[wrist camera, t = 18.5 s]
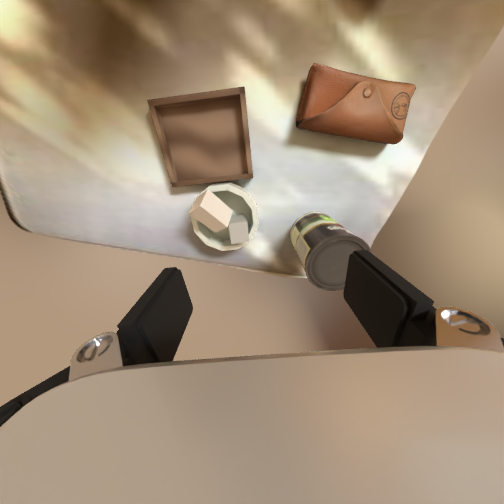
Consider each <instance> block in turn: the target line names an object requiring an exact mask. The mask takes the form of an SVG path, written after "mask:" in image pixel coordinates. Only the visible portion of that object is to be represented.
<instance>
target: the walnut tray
mask: <svg viewBox="0 0 504 504" xmlns="http://www.w3.org/2000/svg"><path fill="white" fill-rule="evenodd" d="M147 101H148V104H149V108H150V111H151V115H152V118H153V122H154V125H155V129H156V132H157V136H158V139H159V142H160V146H161V149H162V153H163V156H164V160H165V163H166V167H167V170H168V174H169V177H170V181H171V184H172V187H178V186H186V185H195V184H204V183H213V182H221V181H230V180H239V179H248V178H253V171H252V161H251V150H250V140H249V129H248V119H247V108H246V98H245V88H244V87H238V88H231V89H224V90H216V91H209V92H202V93H195V94H188V95H181V96H173V97H166V98H159V99H152V100H147Z"/></svg>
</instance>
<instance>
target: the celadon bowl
mask: <svg viewBox="0 0 504 504" xmlns="http://www.w3.org/2000/svg"><path fill="white" fill-rule="evenodd" d="M207 189H209V190H210V191H211V192H212V193H213V194H214V195H215V196H217V197H218V198H219V199H220V200H221V201H222V202H223V203H225V204H226V205H227V206H228V207H229V208H230V209H231V210H233V212H232V215H237V214H243V215H244V216H245V218H246V220H247V223H248V233H249V242H250V241H251V240H252V238H253V236H254V234H255V232H256V230H257V228H258V226H259V224H258V213H257V204H256V202H255V201H254V199H253V198H252V196H251V195H250V194H249V192H248V191H247V190H246V189H244V188H243V187H241V186H239V185H236V184H233V183H231V182H227V183H218V184H212V185H210V186H209V187H207V188H206V189H205V190H204V191H206V190H207ZM204 191H203V192H204ZM203 192H202V193H203ZM202 193H200V194H202ZM200 194H199V195H200ZM199 195H198V196H199ZM198 196H197V197H198ZM197 197H196V198H197ZM196 198H195V199H194V202H195V200H196ZM193 204H194V203H193ZM190 217H191V221H192V225H193V229H194V232H195V233H196V234H197V235H198V236H199V238H200V239H201V240H202V241H203V242H204V243H205V244H206V245H208V246H211V247H213V248H216V249H218V250H221V251H226V250H236V249H239V248H241V247H242V246H244V245H245V244H247V243H248V242H243V243H236V244H231V240H230V235H229V229H228V227H227V228H225V229H223V230H220V231H218V232H216V233H215V232H213V231H212V230H211V229H209V228H208V227H206V226H205V225H204V224H202V223H201V222H199V221H198V220H197V219H195V218H194V217H192V216H191V215H190Z"/></svg>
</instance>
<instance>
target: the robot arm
mask: <svg viewBox="0 0 504 504" xmlns="http://www.w3.org/2000/svg"><path fill="white" fill-rule="evenodd" d="M344 298H345V300H346V302H347V303H348V305H349V306H350V308H351V309H352V311H353V312H354V314H355V315H356V317H357V318H358V320H359V321H360V323H361V324H362V326H363V327H364V329H365V330H366V332H367V333H368V335H369V336H370V338H371V339H372V341H373V342H374V343H375V345H376V346H377V348H366V349H349V350H333V351H317V352H300V353H285V354H270V355H255V356H240V357H227V358H226V357H225V358H213V359H198V360H184V361H173V358H174V356H175V353H176V351H177V348H178V346H179V344H180V341H181V339H182V336H183V334H184V331H185V329H186V326H187V324H188V321H189V318H190V316H191V314H192V310H193V307H192V303H191V300H190V297H189V294H188V291H187V288H186V285H185V282H184V279H183V276H182V273H181V270H178V269H177V268H176V267H173V268H165V269H164V270H163V271H162V272H161V273H160V275H159V276H158V277H157V278H156V279H155V281H154V282H153V283H152V284H151V286H150V287H149V288H148V289H147V290H146V292H145V293H144V294H143V295H142V296H141V297H140V299H139V300H138V301H137V302H136V304H135V305H134V306H133V307H132V308H131V310H130V311H129V312H128V313H127V314H126V316H125V317H124V318H123V319H122V320H121V322H120V323H119V324H118V325H117V326H118V328H119V330H118V331H117V333H114V332H106V333H102V334H99V335H97V336H95V337H93V338H91V339H90V340H88V341H87V342H85V343H84V344H83V345H81V347H79V348H78V349H77V351H76V352H75V353H74V355H73V356H72V359H71V365H70V366H69V367H67V368H66V369H64V370H62V371H60V372H59V373H57V374H55V375H53V376H52V377H50V378H48V379H47V380H45V381H43V382H41V383H40V384H38V385H36V386H35V387H33V388H31V389H29V390H28V391H26V392H24V393H22V394H21V395H19V396H17V397H16V398H14V399H12V400H10V401H9V402H7V403H6V404H4V405H3V406H1V407H0V504H504V339H503V338H500V336H499V333H498V331H497V329H496V328H495V327H494V326H493V325H492V324H491V323H490V322H489V321H487V320H486V319H484V318H482V317H481V316H479V315H477V314H475V313H472V312H470V311H467V310H464V309H460V308H456V307H440V308H438V309H435V308H434V307H433V306H432V305H433V303H434V301H433V300H431V299H430V298H429V297H427V296H426V295H425V294H424V293H422V292H421V291H420V290H418V289H417V288H416V287H414V286H413V285H412V284H411V283H409V282H408V281H407V280H405V279H404V278H403V277H401V276H400V275H399V274H398V273H396V272H395V271H394V270H392V269H391V268H390V267H388V266H387V265H386V264H384V263H383V262H382V261H381V260H379V259H378V258H377V257H375V256H374V255H373V254H371V253H370V252H369V251H368V250H357V251H353V253H352V254H350V255H349V261H348V267H347V274H346V280H345V287H344Z"/></svg>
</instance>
